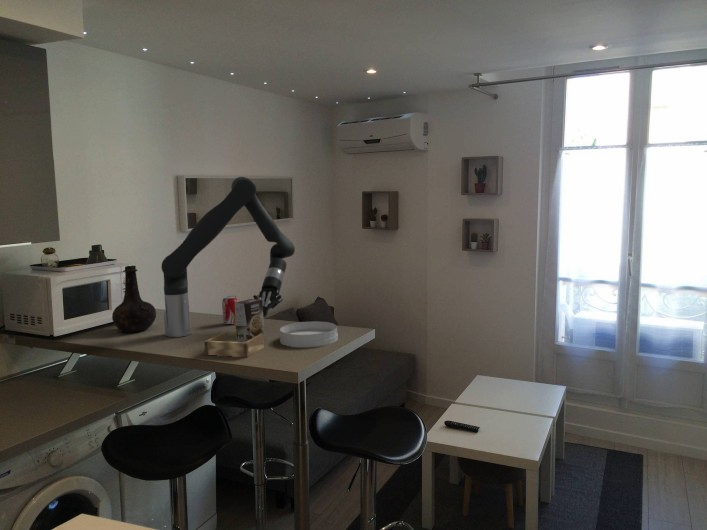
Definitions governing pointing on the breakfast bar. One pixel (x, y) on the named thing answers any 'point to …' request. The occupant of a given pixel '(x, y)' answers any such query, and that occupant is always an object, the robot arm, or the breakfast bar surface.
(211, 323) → the breakfast bar surface
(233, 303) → the soda can
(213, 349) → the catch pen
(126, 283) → the glass bottle
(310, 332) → the dish
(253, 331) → the coffee box
